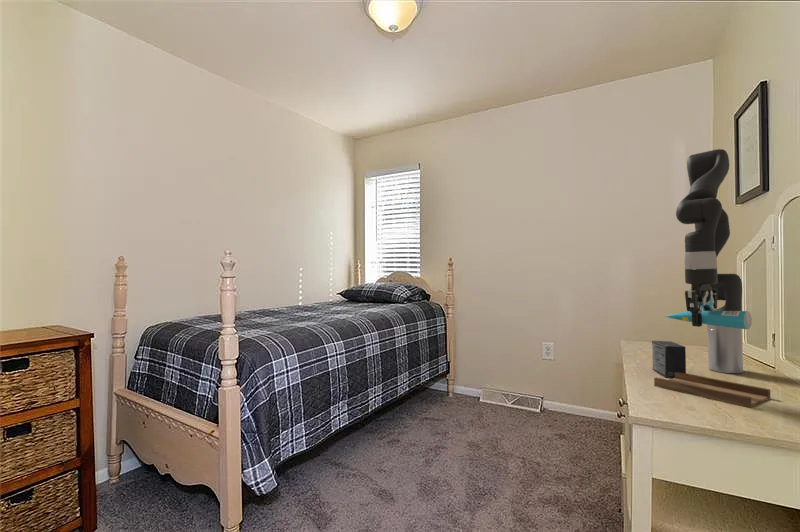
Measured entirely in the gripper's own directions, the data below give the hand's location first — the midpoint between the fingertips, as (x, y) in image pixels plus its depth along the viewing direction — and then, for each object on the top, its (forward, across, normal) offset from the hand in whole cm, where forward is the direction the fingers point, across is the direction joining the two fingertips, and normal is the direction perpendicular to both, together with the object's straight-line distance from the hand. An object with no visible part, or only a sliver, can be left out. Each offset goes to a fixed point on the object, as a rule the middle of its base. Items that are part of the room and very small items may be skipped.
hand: (702, 325), depth 115 cm
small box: (+19, -11, -15) cm, 27 cm away
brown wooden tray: (+19, 0, +1) cm, 19 cm away
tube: (-2, 0, +11) cm, 11 cm away
